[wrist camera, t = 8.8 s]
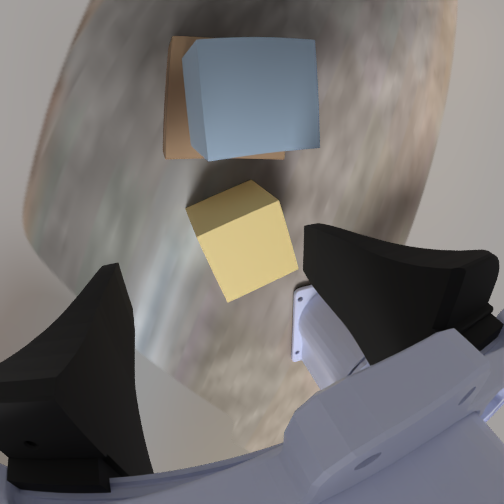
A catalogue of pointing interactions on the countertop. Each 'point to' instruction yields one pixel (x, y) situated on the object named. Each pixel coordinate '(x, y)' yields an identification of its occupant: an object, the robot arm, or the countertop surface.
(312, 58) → the blue cube
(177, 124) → the walnut block
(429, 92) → the countertop surface
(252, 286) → the mustard cube
